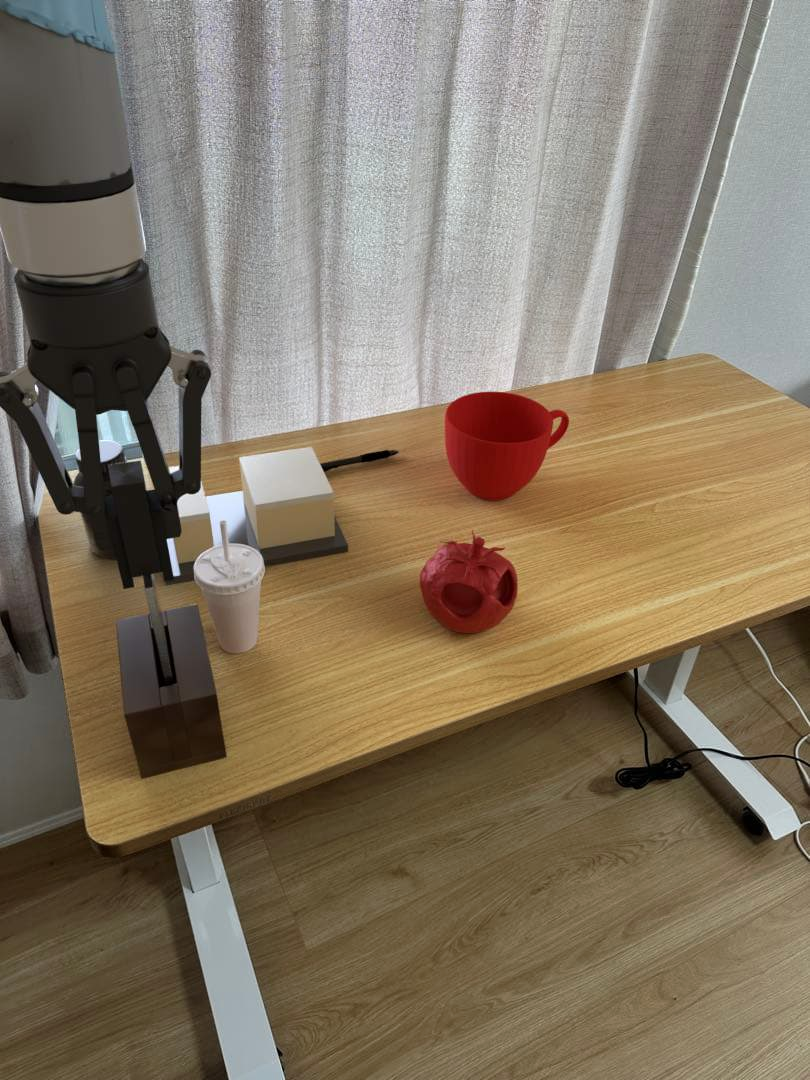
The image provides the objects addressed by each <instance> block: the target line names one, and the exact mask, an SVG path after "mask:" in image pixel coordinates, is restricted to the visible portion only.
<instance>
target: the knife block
mask: <svg viewBox="0 0 810 1080" xmlns="http://www.w3.org/2000/svg"><path fill="white" fill-rule="evenodd" d="M161 614H162V619H163V623H164V628H165V633H166V640H167V646H168V652H169V659H170V665H171V672H172V678H173V682H169V683H165V679H164V675H163V670H162V665H161V661H160V656H159V652H158V647H157V643H156V638H155V634H154V629H153V625H152V620H151V616H150V612H149V613H145V614H139V615H135V616H134V615H133V616H130V617H125V618H118V619H116V620H115V629H116V630H115V631H116V642H117V652H118V663H119V665H118V666H119V674H120V684H121V685H120V686H121V698H122V709H123V716H124V719H125V723H126V727H127V731H128V735H129V739H130V742H131V745H132V749H133V753H134V756H135V760H136V764H137V767H138V771H139V776H140V778H141V779H146V778H151V777H152V776H157V775H161V774H167V773H170V772H173V771H177V770H181V769H185V768H190V767H194V766H198V765H202V764H206V763H209V762H214V761H218V760H222V759H225V758H227V757H228V756H227V755H228V754H227V750H226V749H227V748H226V742H225V737H224V731H223V724H222V718H221V712H220V707H219V699H218V693H217V688H216V684H215V683H216V682H215V680H214V674H213V670H212V666H211V661H210V656H209V651H208V646H207V642H206V641H207V640H206V637H205V632H204V627H203V623H202V618H201V613H200V609H199V604H198V603H195V604H191V605H190V604H189V605H186V606H180V607H176V608H175V607H174V608H170V609H165V610H161Z"/></svg>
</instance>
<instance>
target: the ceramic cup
mask: <svg viewBox="0 0 810 1080" xmlns="http://www.w3.org/2000/svg"><path fill="white" fill-rule="evenodd" d="M558 418H560V419H561V420H560V422H559V425H558V427H557V428H556V429H555V431H554V432H553V428H554V420H555V419H558ZM569 425H570V418H569V416H568V414H567V413H566V412H565V411H564V410H562V409H553V410H550V411H549V409H548V408H546V407H545V406H544V405H542V404H541V403H539V402H538V401H536V400H534V399H532V398H529V397H526V396H523V395H520V394H516V393H512V392H504V391H479V392H478V391H477V392H472V393H468V394H465V395H463V396H460V397H458V398H456V399H454V400H453V401H451V403H450V404H449V405H448V406H447V408H446V411H445V413H444V445H445V452H446V457H447V460H448V463H449V466H450V469H451V471H452V472H453V474H454V476H455V478H457V480H458V481H459V482H460V484H461V485H462V486H463V487H464V488H465V489H466V490H467V491H468V493H469V494H471V495H473V496H474V497H477V498H479V499H482V500H486V501H503V500H506V499H510V498H511V497H513V496H514V495H515V494H516V493H518V492H519V491H521V490H522V489H523V488H525V487H526V486H527V485H528V484H529V483H530V482H532V480H533V479H534V478H535V477H536V476H537V473H538V472H539V470H540V468H542V465H543V463H544V460H545V459H546V455H547V452H548V450H549V449H550V448H552V447H553V446H554V445H556V444H557V443H558V442H559V441H560V440H561V439H562V438H563V437H564V436H565V434H566V432H567V431H568V428H569ZM552 432H553V433H552Z"/></svg>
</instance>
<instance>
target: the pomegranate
mask: <svg viewBox="0 0 810 1080" xmlns="http://www.w3.org/2000/svg"><path fill="white" fill-rule="evenodd" d="M471 535H472V542H471V543H468V542H459V543H458V542H457V541H456V540H447V541H441V540H440V541H439V542H440V543H441V544H442V545H440V546H439V547H438V548H437V549H436V550H435V551H434V553H433V554H432V555H431V556H430V557H429V558H428V559H427V560H426V562H425V563H424V565H423V567H422V568H421V570H420V573H419V580H418V583H419V589H420V594H421V597H422V600H423V604H424V605H425V607H426V609H427V611H428V612H429V614H430V615H431V616H432V617H433V618H434V619H436V621H437V622H438V623H440V624H441V625H442V626H444V627H445V628H447V629H449V630H450V631H453V632H456V633H461V634H474V633H480V632H485V631H487V630H489V629H490V630H491V629H492V628H495V627H496V626H498V625H499V624H501V622H502V621H503V620H504V619H506V618H507V616H508V615H509V614H510V613H511V611H512V610H513V608H514V606H515V603H516V600H517V597H518V589H519V587H518V586H519V585H518V580H519V579H518V574H517V571H516V568H515V566H514V565H513V563H512V562H511V561H510V560H509V559H507V558H506V557H504V556H503V555H502V554H499V553H498V552H502V551H504V550H505V549H506V547H505V546H503V547H495V546H494V547H490V548H488V547H485V546H484V545H485V543H486V541H485V539H484V538H482V537H481V536H478V537H476V535H475V533H474V529H472V530H471Z"/></svg>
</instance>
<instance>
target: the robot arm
mask: <svg viewBox="0 0 810 1080" xmlns="http://www.w3.org/2000/svg"><path fill="white" fill-rule="evenodd" d="M116 53H117V47H116V42H114V40H113V37H112V32H111V28H110V24H109V19H108V14H107V10H106V5H105V1H104V0H0V235H1V238H2V241H3V245H4V249H5V252H6V256H7V260H8V263H9V264H11V265H12V267H14V268H16V269H17V270H16V272H15V274H14V276H13V282H14V286H15V290H16V295H17V297H18V301H19V305H20V308H21V311H22V312H21V313H22V316H23V319H24V324H25V327H26V331H27V334H28V335H27V336H28V338H29V348H28V350H27V354H26V357H27V358H26V359H27V360H26V363H24V364H23V365H21V366H19V367H17V368H16V369H14V370H13V371H11V372H10V371H7V370H1V371H0V408H1V409H2V410H3V411H4V412H5V413H6V414H7V415H8V416H9V417H10V418H11V419H12V420H13V421H14V422H15V423H16V425H17V427H18V430H19V431H20V434H21V437H22V439H23V441H24V443H25V445H26V447H27V449H28V451H29V453H30V455H31V457H32V460H33V461H34V464H35V466H36V468H37V470H38V472H39V474H40V477H41V479H42V481H43V483H44V485H45V488H46V489H47V491H48V494H49V496H50V498H51V501H52V502H53V505H54V507H55V510H57V512H58V513H60V514H61V515H65V516H67V515H71V514H73V513H80V512H81V513H84V514H85V515H87V516H88V518H89V520H90V524H91V528H92V532H93V536H94V539H95V543H96V546H97V547H98V549H99V550H100V551H103V550H109V549H114V552H115V556H116V559H115V560H116V563H117V568H118V573H119V575H120V576H119V577H120V581H121V585H122V589H123V590H128V589H134V588H135V584H134V578H132V577H131V574H130V569H129V565H128V561H127V556H126V552H125V548H124V543H123V539H122V535H121V530H120V526H119V522H118V517H117V513H116V509H115V504H114V500H113V496H108V497H104V490H103V480H102V469H101V459H100V448H99V441H100V439H99V430H98V429H99V428H98V418H97V415H98V416H99V415H102V414H104V413H107V412H111V411H120V412H127V414H128V417H129V419H130V422H131V425H132V427H133V429H134V433H135V436H136V438H137V441H138V445H139V448H140V450H141V453H142V456H143V459H144V462H145V465H146V468H147V470H148V473H149V477H150V479H151V483H152V485H153V488H154V489H147V495H148V501H149V507H150V513H151V518H152V523H153V528H154V533H155V538H156V543H157V548H158V553H159V558H160V563H161V568H162V572H161V574H162V579H163V582H164V583H166V581H171V580H174V576H173V570H172V565H171V560H170V554H169V549H168V544H167V539H171V538H177V537H180V535H181V532H182V530H181V524H180V518H179V512H178V507H177V502H178V500H179V498H180V497H181V496H183V495H185V494H196V493H198V492H199V490H200V488H201V481H202V406H203V405H202V403H203V402H202V398H203V396H204V394H205V392H206V389H207V387H208V384H209V382H210V379H211V377H212V371H211V370H212V369H211V368H210V367H211V366H210V365H209V361H208V359H207V356H206V354H205V352H204V351H202V350H201V349H194V350H191V351H190V352H187V351H184V350H182V349H179V348H176V347H173V346H171V344H170V341H169V339H168V338H167V336H166V335H165V333H164V332H163V331H162V330H161V328H160V324H159V319H158V312H157V306H156V301H155V294H154V288H153V281H152V276H151V269H150V266H149V264H148V262H146V261H145V260H144V259H143V258H142V257H143V256H144V255H145V254H146V251H147V246H146V245H147V244H146V239H145V233H144V232H145V231H144V225H143V220H142V215H141V208H140V201H139V195H138V190H137V184H136V179H135V176H134V170H133V166H132V165H133V163H132V159H131V152H130V145H129V139H128V132H127V125H126V118H125V112H124V106H123V98H122V92H121V85H120V79H119V71H118V64H117V59H116ZM168 367H169V368H170V369H171V374H172V378H173V382H174V384H175V385H177V386H178V388H177V389H178V390H177V392H178V466H179V470H177V471H175V472H173V473H171V474H170V471H169V468H168V467H169V464H168V461H167V457H166V456H165V452H164V449H163V446H162V443H161V440H160V436H159V433H158V430H157V427H156V424H155V421H154V417H153V414H152V411H151V409H150V408H151V407H150V405H149V401H148V399H149V398H150V396H151V394H152V393H153V391H154V389H155V388H156V386H157V384H158V383H159V381H160V379H161V378H162V376H163V374H164V373H165V371H166V369H167V368H168ZM38 382H39V383H40V384H41V385H43V386H44V387H45V388H47V390H49V391H50V392H51V393H53V394H54V395H55V396H56V397H58V398H59V399H60V400H61V401H62V402H64V403H65V404H66V405H67V406H69V407H70V408H71V409H73V410H74V411H75V421H76V431H77V436H78V447H79V448H80V456H81V465H82V474H83V483H84V487H80V486H74V484H73V483H74V481H73V480H72V477H71V475H70V473H69V470H68V468H67V466H66V464H65V461H64V459H63V457H62V454H61V452H60V450H59V447H58V446H57V443H56V441H55V439H54V436H53V434H52V431H51V430H50V427H49V424H48V422H47V420H46V417H45V415H44V414H43V411H42V409H41V407H40V405H39V403H38V400H39V388H38V386H37V383H38Z"/></svg>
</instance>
